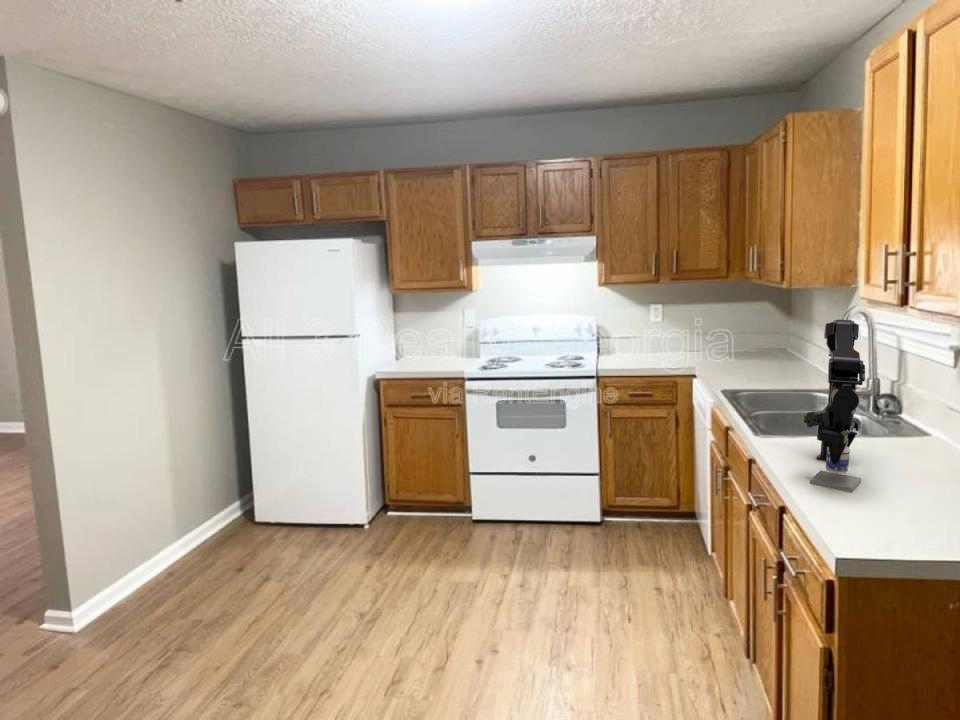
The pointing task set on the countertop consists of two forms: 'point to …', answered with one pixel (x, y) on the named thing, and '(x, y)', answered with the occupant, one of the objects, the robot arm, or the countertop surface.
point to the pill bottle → (842, 463)
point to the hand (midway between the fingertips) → (837, 461)
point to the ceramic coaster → (835, 481)
